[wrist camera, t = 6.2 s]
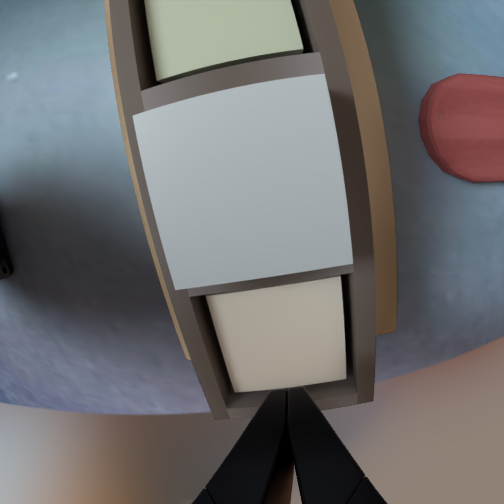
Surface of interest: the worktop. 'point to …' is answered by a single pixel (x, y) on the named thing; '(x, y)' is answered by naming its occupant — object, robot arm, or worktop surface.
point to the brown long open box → (355, 179)
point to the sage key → (218, 34)
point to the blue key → (247, 182)
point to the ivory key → (281, 334)
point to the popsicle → (465, 126)
